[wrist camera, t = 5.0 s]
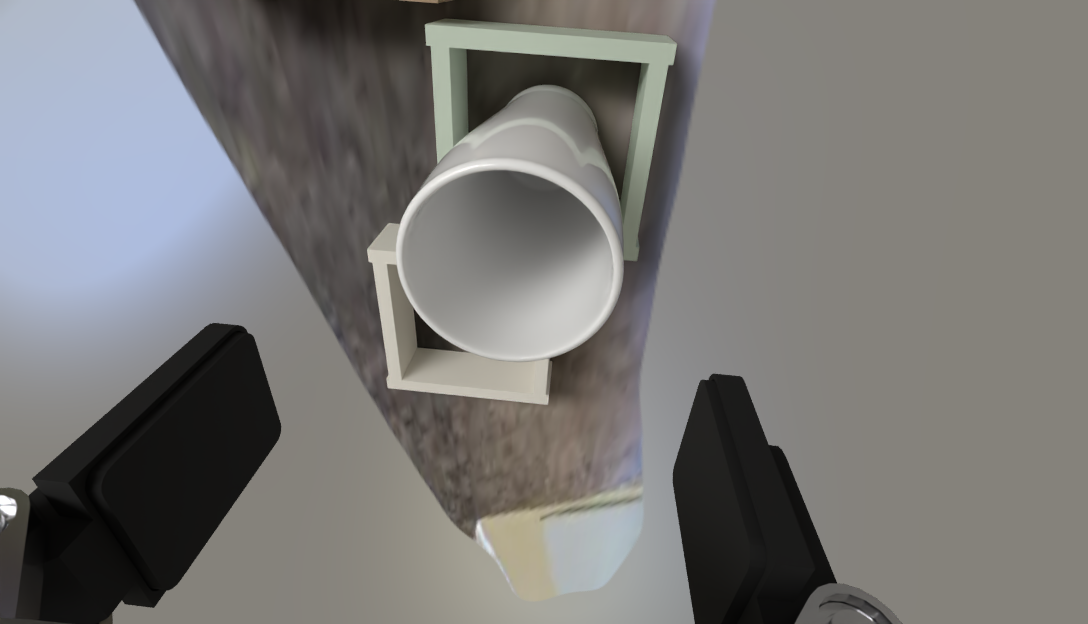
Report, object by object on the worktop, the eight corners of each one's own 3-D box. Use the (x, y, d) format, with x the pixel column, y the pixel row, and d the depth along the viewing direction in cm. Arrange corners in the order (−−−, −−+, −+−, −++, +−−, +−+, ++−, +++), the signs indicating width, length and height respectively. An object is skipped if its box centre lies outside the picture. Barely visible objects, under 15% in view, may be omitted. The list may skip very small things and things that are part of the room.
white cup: (617, 189, 28) (635, 358, 16) (500, 204, 29) (429, 373, 17) (606, 55, 25) (616, 138, 12) (472, 78, 26) (355, 176, 13)
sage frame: (445, 18, 24) (425, 24, 21) (667, 35, 24) (677, 43, 21) (453, 216, 30) (438, 242, 27) (632, 233, 30) (636, 261, 27)
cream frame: (388, 223, 31) (367, 249, 28) (563, 239, 30) (560, 267, 27) (404, 354, 36) (387, 387, 33) (551, 369, 36) (547, 404, 33)
